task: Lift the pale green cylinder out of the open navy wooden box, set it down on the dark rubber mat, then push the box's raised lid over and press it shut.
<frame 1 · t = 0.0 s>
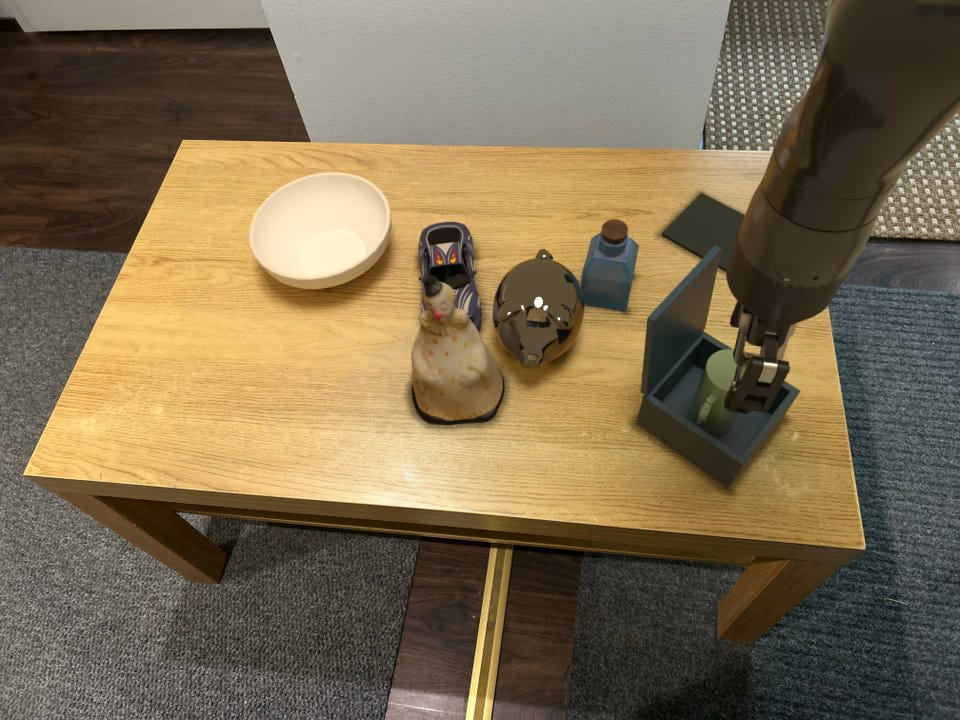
hand: (739, 364, 60), 22 cm above the table, tool pointing down, fingers open, 8 cm apart
lid: (679, 323, 72), point 14 cm above the table, hinge at 95.0°
pale green cylinder: (709, 417, 81), point 1 cm above the table, touching box
mat: (717, 234, 96), on the table
perfume bottle: (606, 290, 93), on the table
box: (708, 421, 82), on the table
toy car: (450, 286, 95), on the table
figurine: (458, 388, 87), on the table
bowl: (333, 257, 100), on the table
piggy bank: (538, 339, 90), on the table
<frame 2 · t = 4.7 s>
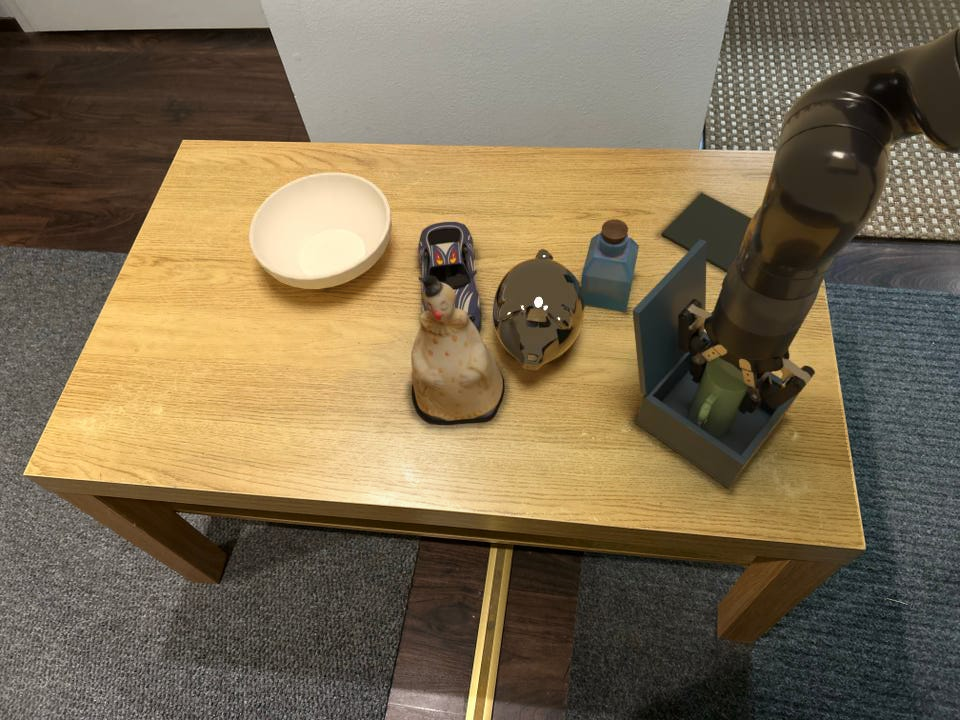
hand: (722, 391, 75), 7 cm above the table, tool pointing down, fingers closed on pale green cylinder, 5 cm apart
lid: (672, 320, 73), point 14 cm above the table, hinge at 102.3°
pale green cylinder: (709, 417, 81), point 1 cm above the table, touching box, gripper
everything else where it was.
when the fingers open (7 cm above the table, at t = 12.6 s): pale green cylinder stays where it is, resting on mat.
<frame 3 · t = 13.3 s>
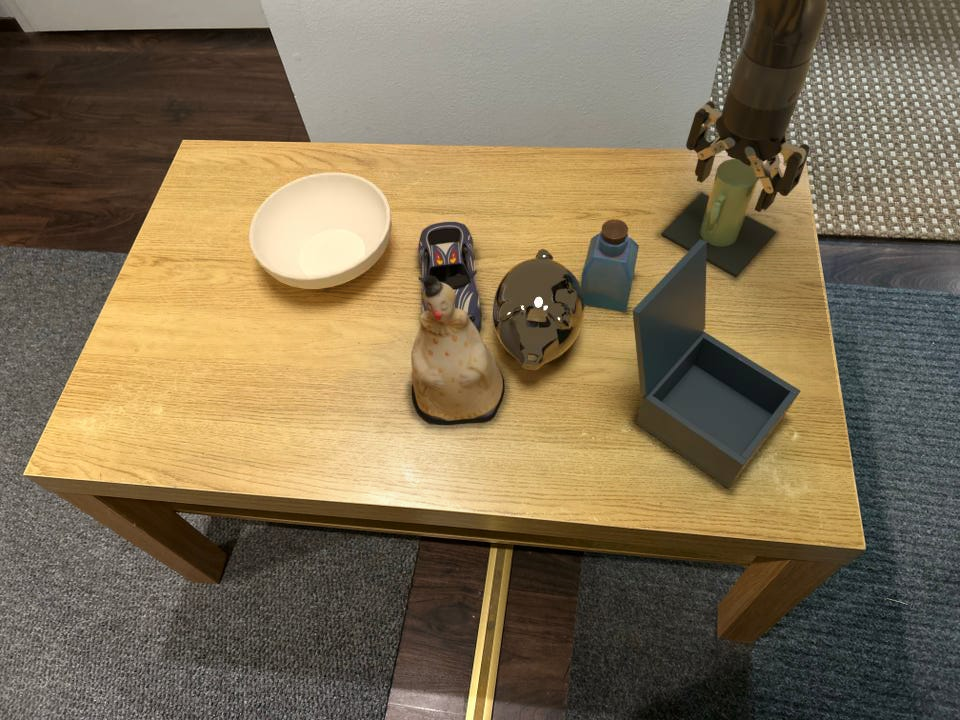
hand: (731, 192, 90), 8 cm above the table, tool pointing down, fingers open, 8 cm apart
pale green cylinder: (719, 232, 96), resting on mat
everything else where it was.
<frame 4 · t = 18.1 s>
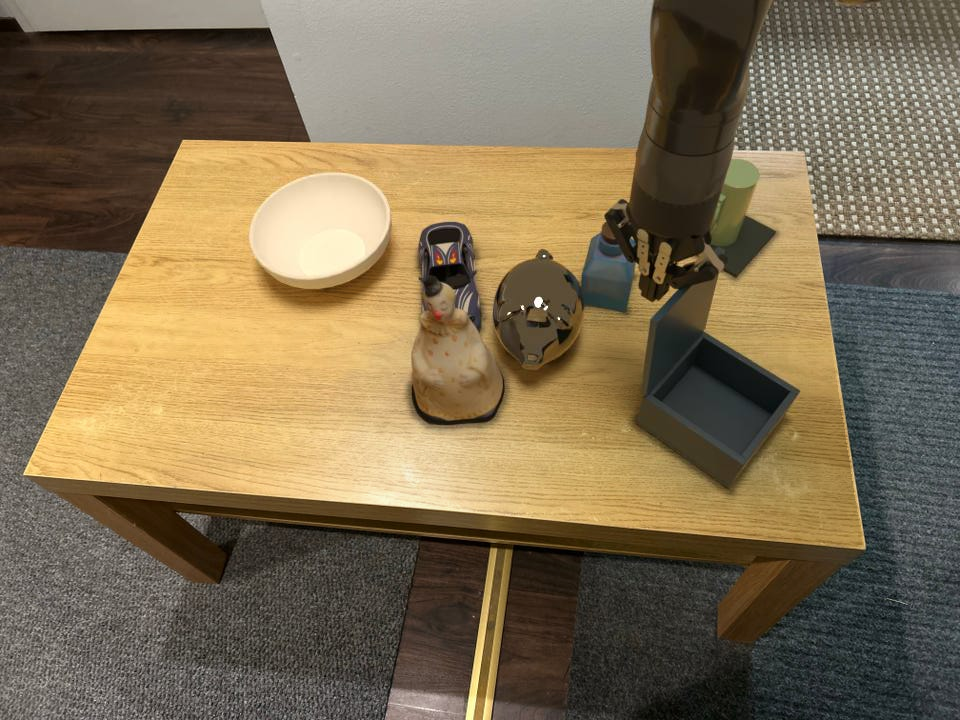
hand: (651, 294, 72), 16 cm above the table, tool pointing down, fingers closed
lid: (680, 324, 72), point 14 cm above the table, hinge at 93.6°, touching gripper, hand
everything else where it was.
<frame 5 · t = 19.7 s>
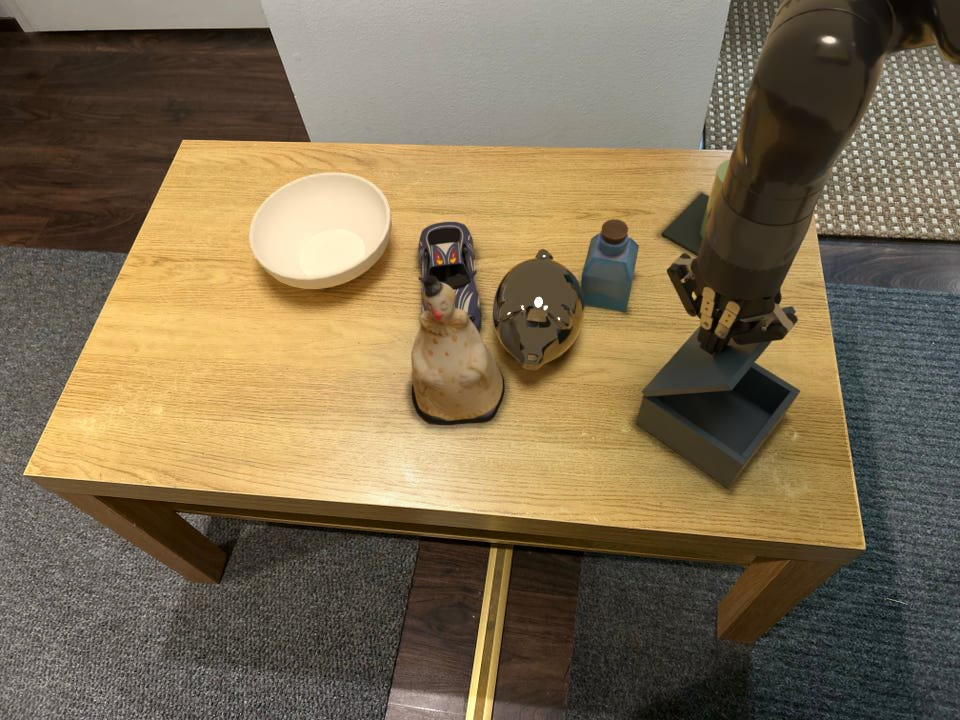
hand: (710, 345, 71), 13 cm above the table, tool pointing down, fingers closed
lid: (714, 353, 72), point 13 cm above the table, hinge at 53.3°, touching gripper
everything else where it was.
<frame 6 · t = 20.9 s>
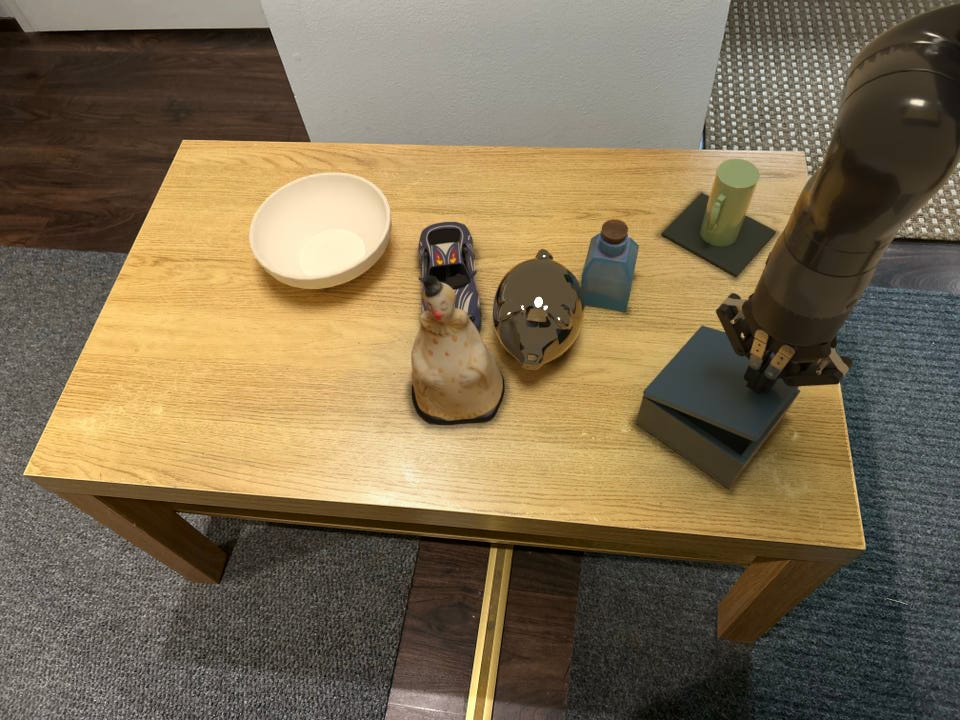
hand: (756, 384, 70), 12 cm above the table, tool pointing down, fingers closed
lid: (726, 378, 73), point 10 cm above the table, hinge at 23.2°
everything else where it was.
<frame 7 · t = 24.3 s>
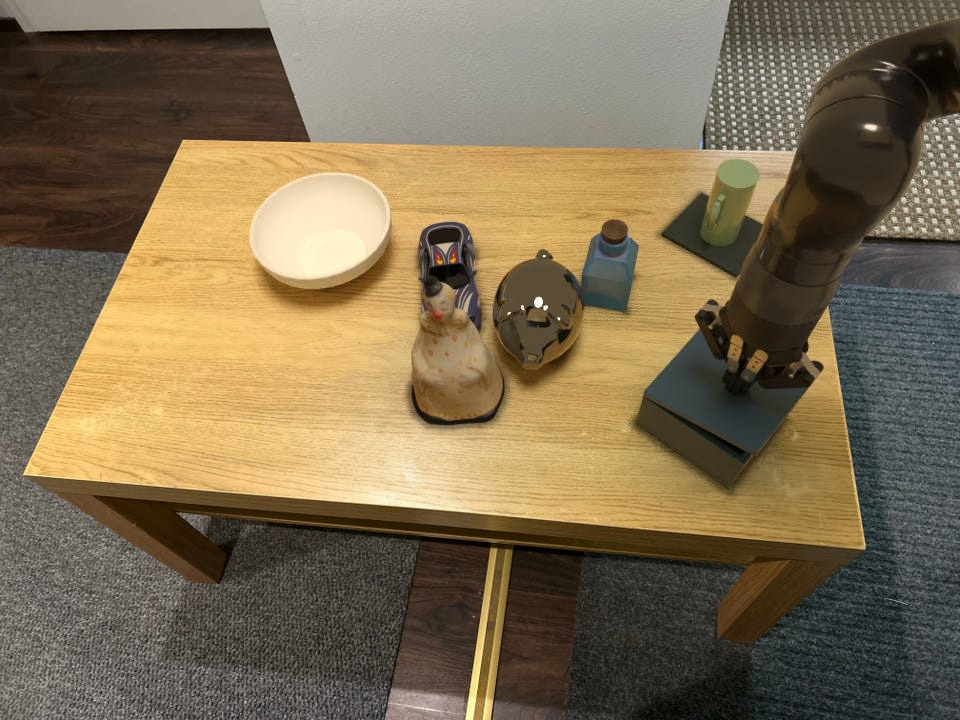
hand: (734, 386, 73), 9 cm above the table, tool pointing down, fingers closed
lid: (727, 386, 74), point 9 cm above the table, hinge at 12.3°, touching gripper
everything else where it was.
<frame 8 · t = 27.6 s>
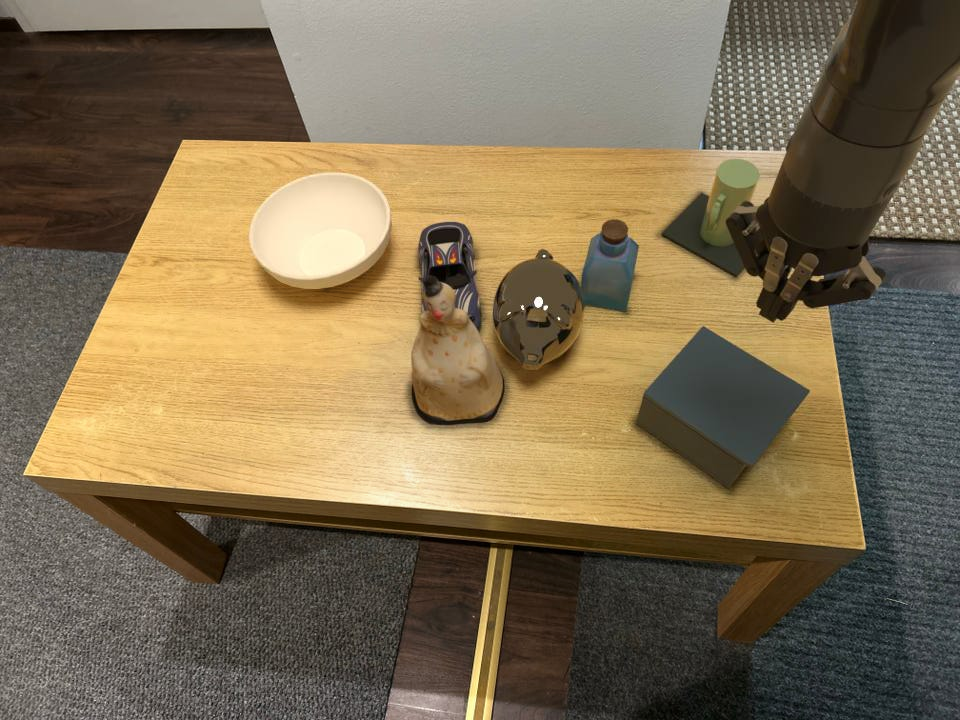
hand: (771, 312, 62), 23 cm above the table, tool pointing down, fingers closed
lid: (725, 393, 75), point 7 cm above the table, hinge at 0.4°
everything else where it was.
at the end: pale green cylinder inside the target area on the mat (0.1 cm from its centre), point 0.5 cm above the mat's base; pale green cylinder tilted 0°; lid at +0° (first picture: +95°) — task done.
